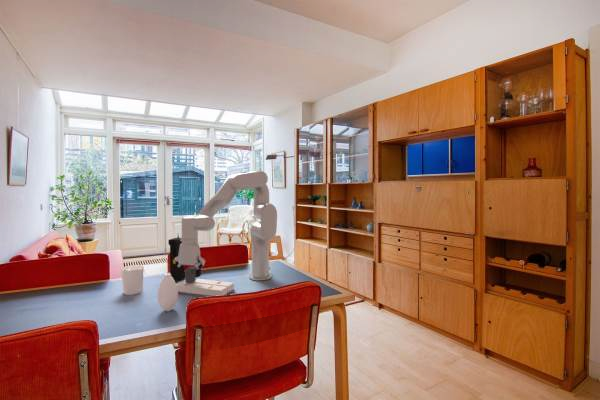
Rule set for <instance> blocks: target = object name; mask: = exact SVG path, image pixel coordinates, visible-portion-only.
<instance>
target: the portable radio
mask: <svg viewBox="0 0 600 400" xmlns="http://www.w3.org/2000/svg"><path fill="white" fill-rule="evenodd" d="M180 239H182V237H180V236H179V233H177V237H174V238H170V239H168V240H167V241H168V246H169V258H170V261H169V265H170V270H169V271H170V273H169V274H171V276H172V278H173V279H174V281H175V282H180V281H182V280H183V279H185V269H186V267H185V265H183V266H184V274H183V275H179V267H178V265H177V264H176V261H175V257H177V256H178V255H179V248H180V244H182V241H180Z"/></svg>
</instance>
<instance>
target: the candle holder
mask: <svg viewBox="0 0 600 400" xmlns="http://www.w3.org/2000/svg"><path fill="white" fill-rule="evenodd" d="M144 268H145V267H144V265H141V264H134V265H133V264H132V265H127V266H123V267H121V268H120V271H121V273H120V274H121V283H122V284H121V285H122V289H123V290H122V291H123V294H124V295H127V296H128V295H129V296H130V295H132V296H133V295H136V294H137V295H138V294H140V293H142V292H143V290H144V288H143V287H144V270H145V269H144Z"/></svg>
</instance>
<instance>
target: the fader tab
mask: <svg viewBox="0 0 600 400" xmlns="http://www.w3.org/2000/svg"><path fill="white" fill-rule="evenodd" d="M184 280H185V282H186V283H192V282H194V281H196V267H195V266H190V267H186V268H185V278H184Z"/></svg>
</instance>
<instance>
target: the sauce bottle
mask: <svg viewBox="0 0 600 400" xmlns="http://www.w3.org/2000/svg"><path fill="white" fill-rule="evenodd" d="M176 284H177V283H176V281H174V279H173V278H172V276H171V274H170V273H169V268H168V267H167V268H166V273H164V275H163V277H162V278H161V281H160V283H159V286H158V290H157V302H158V306H159V307H160V308H161V310H163V311H165V312H170V311H171V310H173V309H174V308H175V307H176V306H177V302H178V299H179V294H178V289H177V285H176Z"/></svg>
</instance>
